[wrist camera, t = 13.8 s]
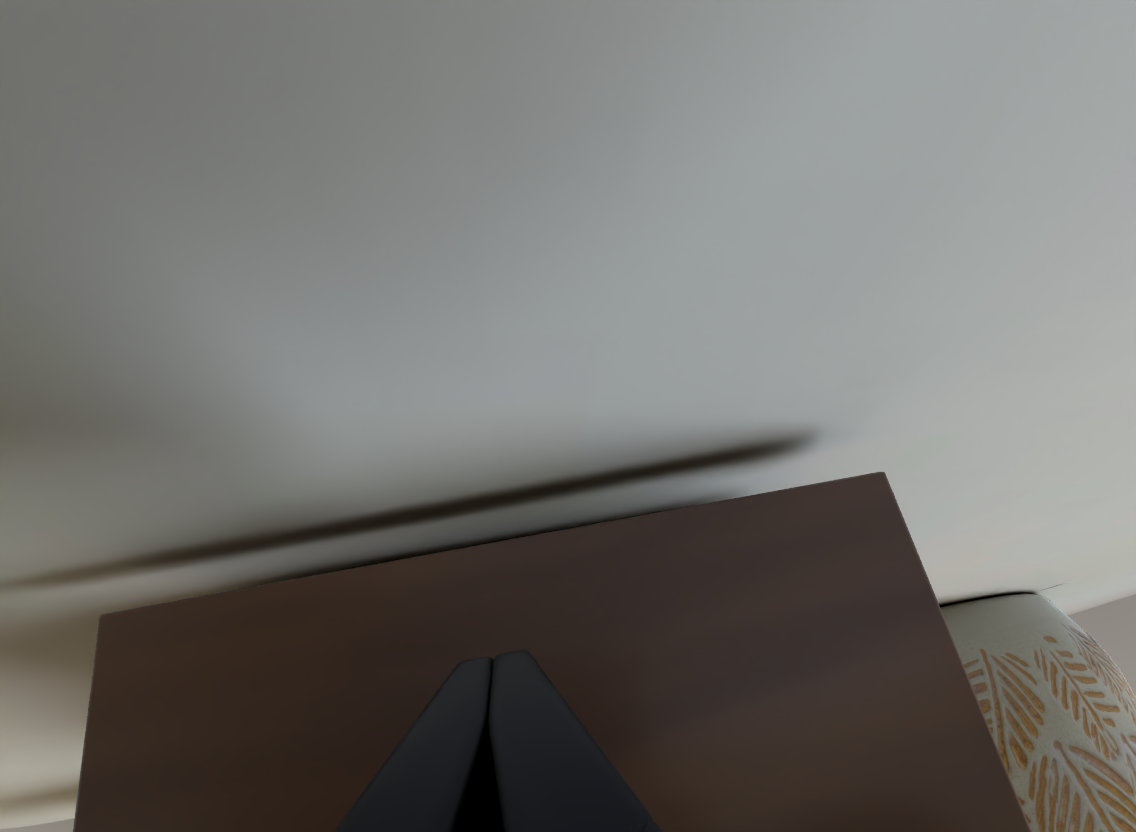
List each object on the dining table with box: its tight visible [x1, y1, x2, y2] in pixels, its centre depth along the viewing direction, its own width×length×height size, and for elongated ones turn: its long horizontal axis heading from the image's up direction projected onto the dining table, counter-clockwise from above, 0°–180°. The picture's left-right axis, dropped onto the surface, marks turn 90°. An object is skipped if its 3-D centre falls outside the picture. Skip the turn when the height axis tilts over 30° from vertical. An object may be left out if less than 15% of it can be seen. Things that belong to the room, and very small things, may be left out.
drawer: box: [73, 472, 1032, 832], centre depth 15 cm, size 14×13×7 cm
